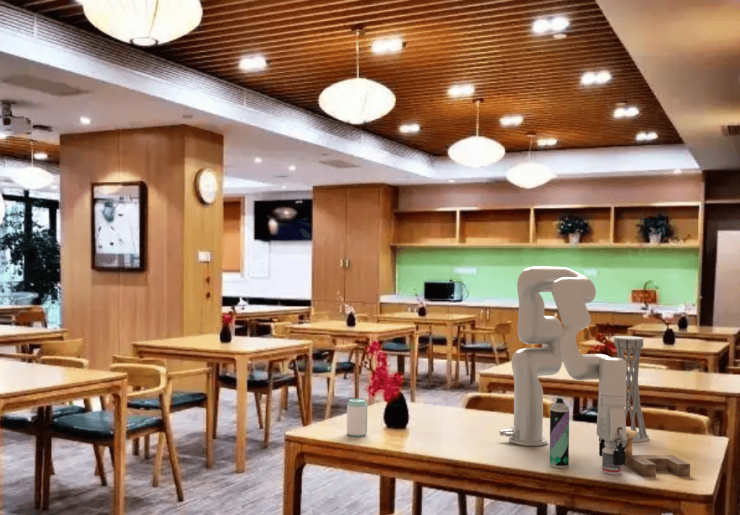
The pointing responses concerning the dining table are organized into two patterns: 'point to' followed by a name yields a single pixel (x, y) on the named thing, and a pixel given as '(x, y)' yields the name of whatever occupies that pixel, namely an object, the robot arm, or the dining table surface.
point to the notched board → (657, 465)
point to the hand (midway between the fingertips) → (611, 460)
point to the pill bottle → (609, 459)
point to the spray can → (559, 434)
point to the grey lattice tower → (620, 347)
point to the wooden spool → (629, 442)
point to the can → (357, 417)
